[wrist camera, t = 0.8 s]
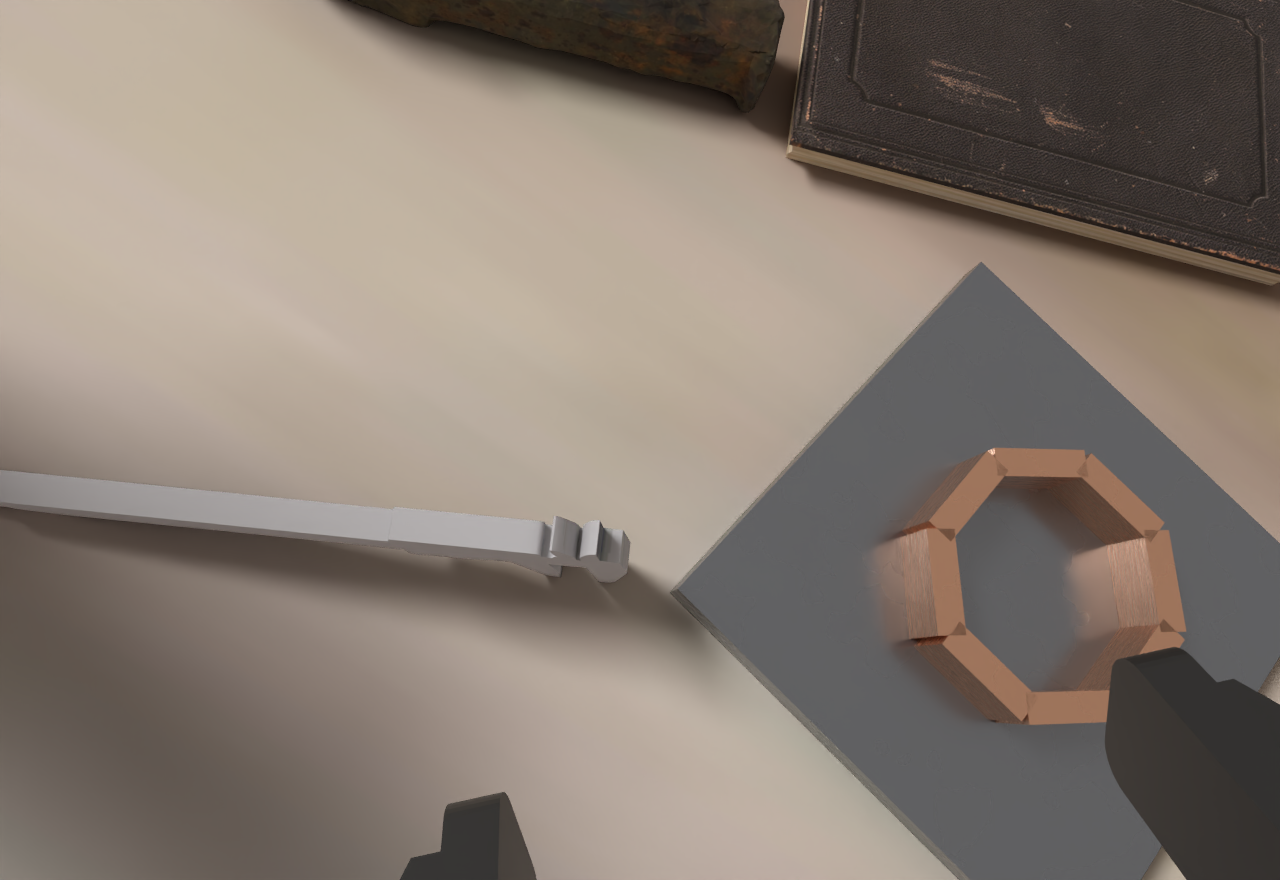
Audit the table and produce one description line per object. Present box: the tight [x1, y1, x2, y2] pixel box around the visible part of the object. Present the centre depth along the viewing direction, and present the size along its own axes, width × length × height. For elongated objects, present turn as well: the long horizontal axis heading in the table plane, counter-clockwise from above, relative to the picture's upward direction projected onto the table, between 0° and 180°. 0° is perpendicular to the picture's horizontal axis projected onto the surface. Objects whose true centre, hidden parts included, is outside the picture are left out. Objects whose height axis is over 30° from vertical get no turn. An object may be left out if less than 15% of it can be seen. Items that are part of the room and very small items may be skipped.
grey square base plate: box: [670, 262, 1280, 880], centre depth 32 cm, size 18×18×3 cm
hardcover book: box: [786, 0, 1280, 286], centre depth 40 cm, size 16×23×2 cm
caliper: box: [0, 470, 630, 582], centre depth 27 cm, size 20×1×6 cm, turn 84°
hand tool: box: [348, 0, 785, 112], centre depth 34 cm, size 19×4×5 cm, turn 80°
